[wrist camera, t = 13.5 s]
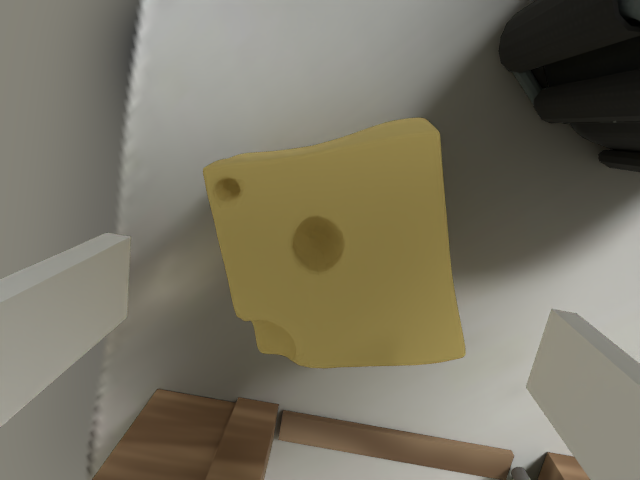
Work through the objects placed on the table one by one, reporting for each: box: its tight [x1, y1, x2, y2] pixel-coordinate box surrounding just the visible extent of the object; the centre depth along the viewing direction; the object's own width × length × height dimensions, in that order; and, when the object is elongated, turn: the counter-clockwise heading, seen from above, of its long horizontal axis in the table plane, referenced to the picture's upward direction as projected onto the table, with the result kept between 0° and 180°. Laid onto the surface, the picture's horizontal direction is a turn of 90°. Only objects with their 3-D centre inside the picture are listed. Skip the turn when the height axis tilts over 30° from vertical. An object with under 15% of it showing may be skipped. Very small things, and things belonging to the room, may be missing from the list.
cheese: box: [203, 118, 465, 368], centre depth 23 cm, size 10×11×10 cm
